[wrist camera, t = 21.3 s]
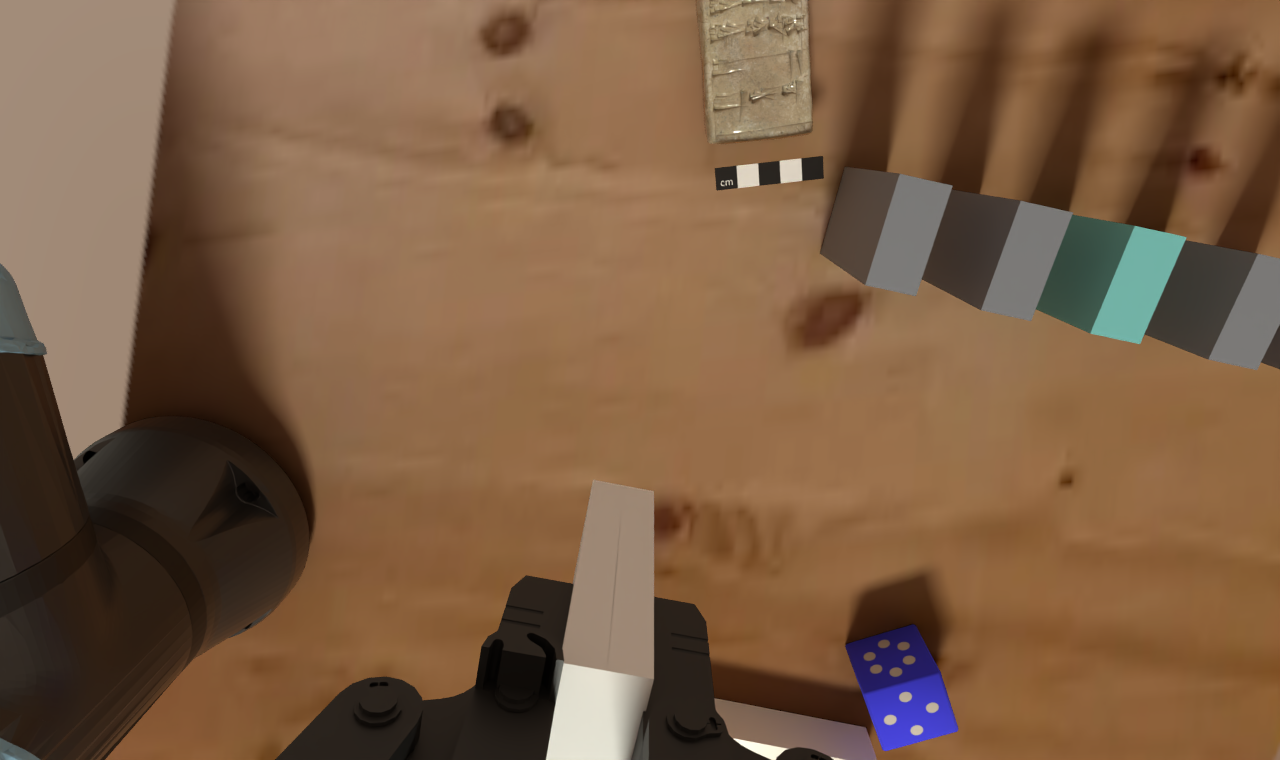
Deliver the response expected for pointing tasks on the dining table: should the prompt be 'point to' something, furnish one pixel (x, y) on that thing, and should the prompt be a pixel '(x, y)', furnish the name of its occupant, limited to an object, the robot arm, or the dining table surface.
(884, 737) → the die
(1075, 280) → the domino
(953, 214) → the domino
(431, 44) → the dining table surface
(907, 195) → the domino
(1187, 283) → the domino
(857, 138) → the dining table surface
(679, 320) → the dining table surface
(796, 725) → the white flat rectangular frame
